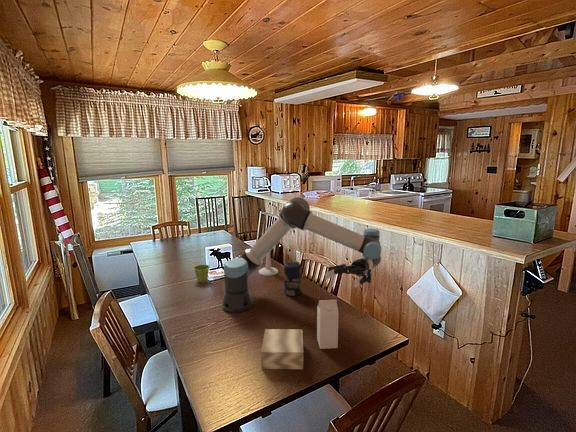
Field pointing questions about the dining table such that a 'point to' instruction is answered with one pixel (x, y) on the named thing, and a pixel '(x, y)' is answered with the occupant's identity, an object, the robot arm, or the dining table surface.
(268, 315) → the dining table surface
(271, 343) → the block
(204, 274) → the plant pot
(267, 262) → the candlestick
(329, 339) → the milk carton
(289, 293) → the canister
